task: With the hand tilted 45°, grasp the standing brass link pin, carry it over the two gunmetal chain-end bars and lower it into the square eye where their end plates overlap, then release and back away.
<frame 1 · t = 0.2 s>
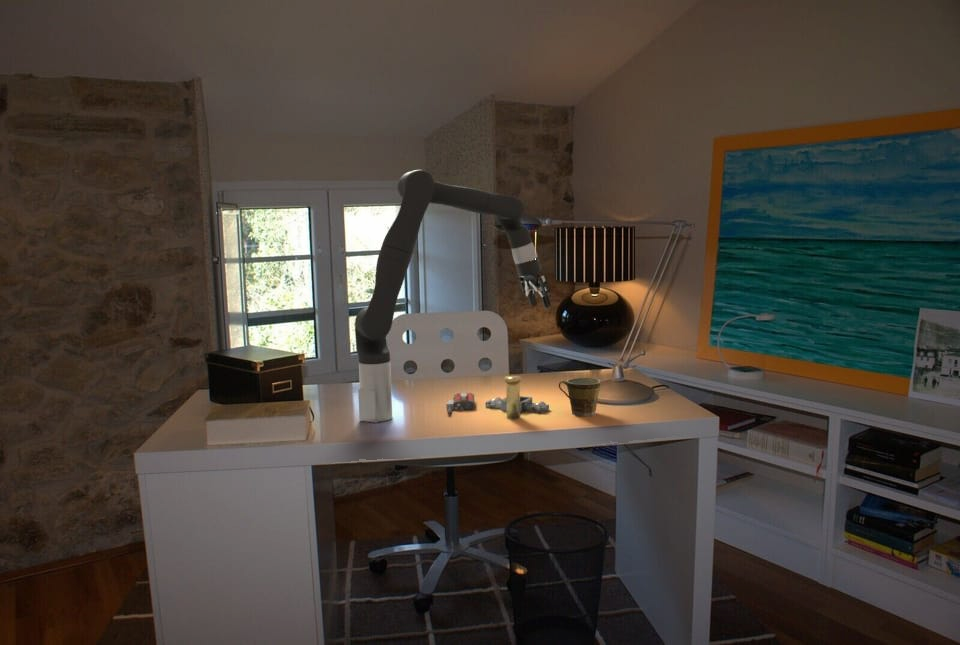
hand: (541, 306, 235), 30 cm above the table, tool tilted 20°, fingers open, 8 cm apart
walkie-talkie: (460, 409, 229), on the table
link pin: (513, 417, 216), on the table
ceramic cup: (578, 413, 219), on the table
chain end a: (516, 408, 226), on the table
chain end b: (498, 402, 229), on the table
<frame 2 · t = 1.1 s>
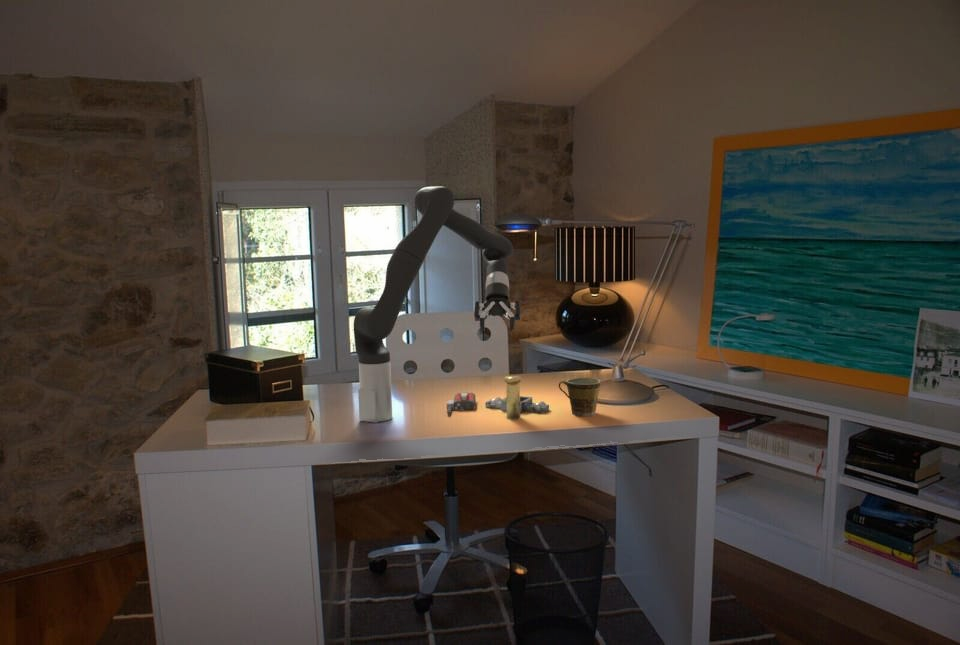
hand: (497, 329, 224), 25 cm above the table, tool tilted 45°, fingers open, 8 cm apart
nothing on the table moved.
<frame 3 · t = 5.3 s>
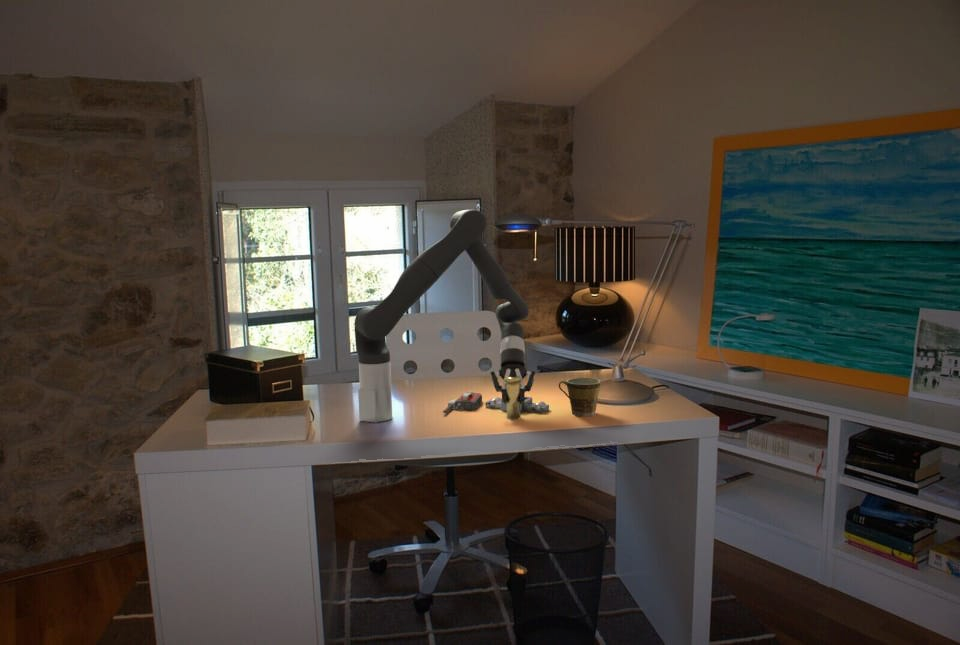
hand: (513, 402, 213), 5 cm above the table, tool tilted 45°, fingers closed on link pin, 4 cm apart
link pin: (513, 417, 216), on the table, touching gripper
when the fingers open (7 cm above the table, at t = 9.6 s): link pin drops 2 cm, resting in chain end a.
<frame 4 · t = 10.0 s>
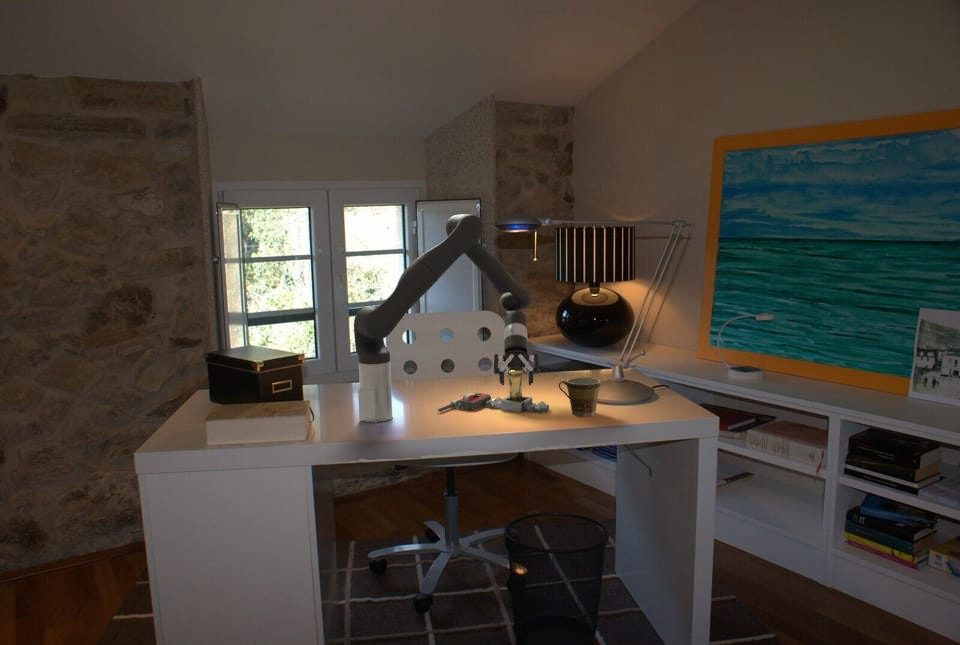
hand: (516, 383, 224), 8 cm above the table, tool tilted 45°, fingers open, 8 cm apart
link pin: (516, 408, 226), resting in chain end a
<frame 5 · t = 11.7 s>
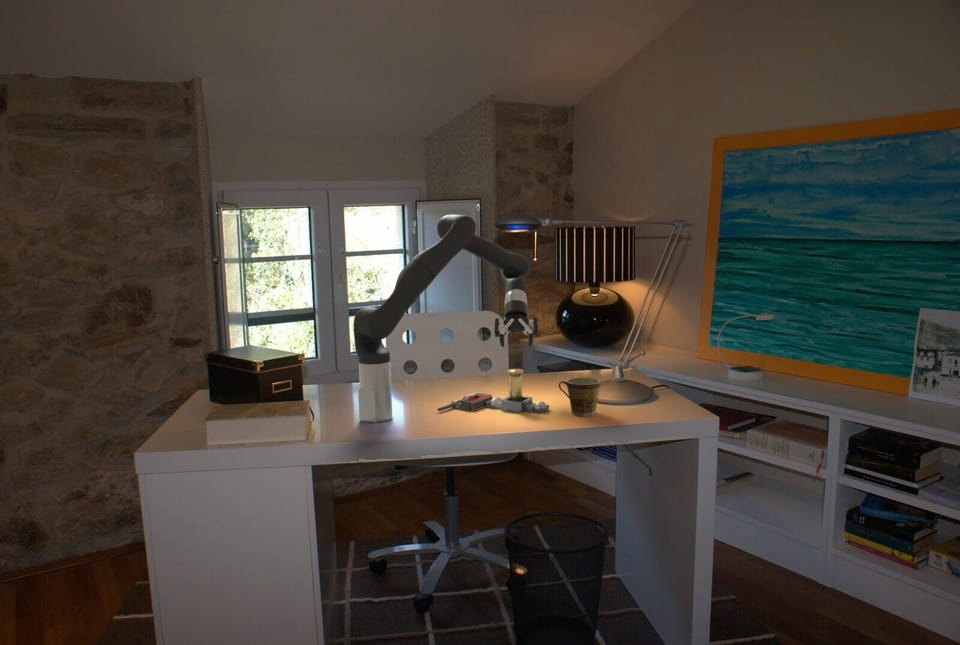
hand: (516, 345, 234), 18 cm above the table, tool tilted 45°, fingers open, 8 cm apart
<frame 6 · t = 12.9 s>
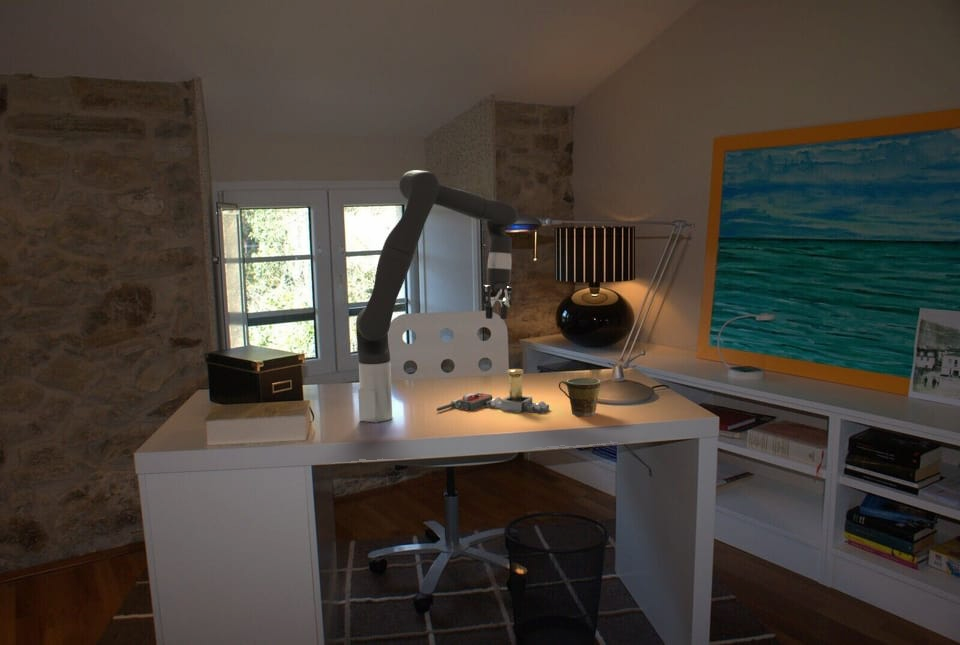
hand: (496, 318, 232), 27 cm above the table, tool pointing down, fingers open, 8 cm apart
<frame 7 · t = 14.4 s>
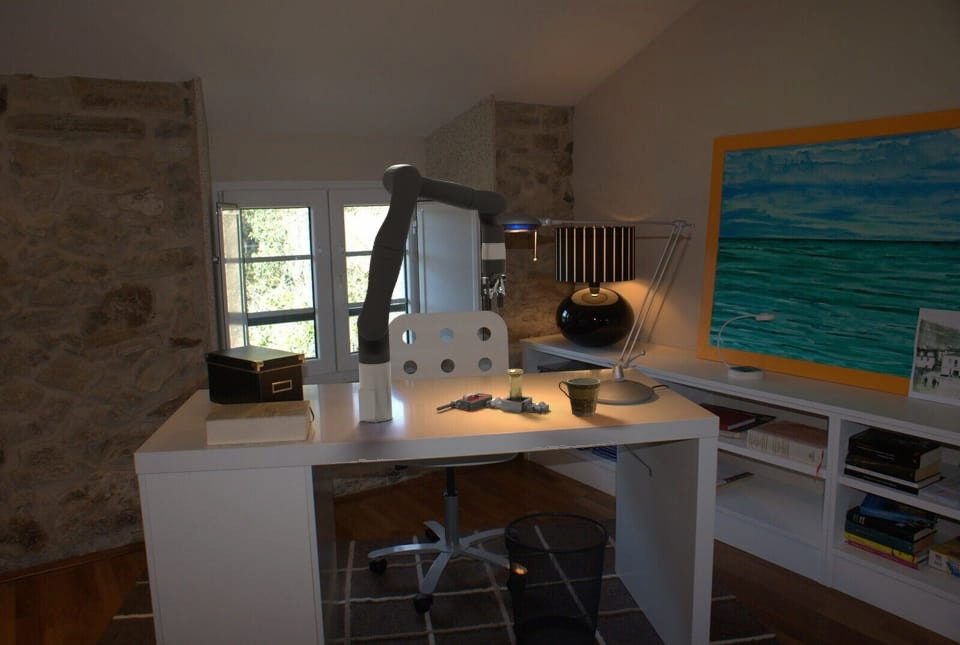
hand: (494, 309, 231), 30 cm above the table, tool pointing down, fingers open, 8 cm apart
at the end: link pin 0.3 cm off-centre on the chain end a, point 0.0 cm above the chain end a's base; link pin tilted 0°; the gripper is holding nothing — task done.
